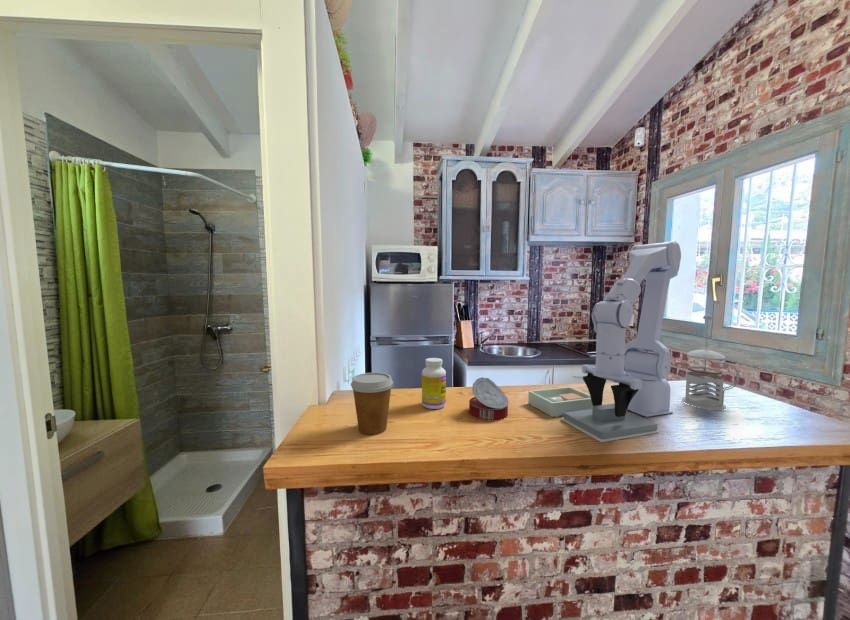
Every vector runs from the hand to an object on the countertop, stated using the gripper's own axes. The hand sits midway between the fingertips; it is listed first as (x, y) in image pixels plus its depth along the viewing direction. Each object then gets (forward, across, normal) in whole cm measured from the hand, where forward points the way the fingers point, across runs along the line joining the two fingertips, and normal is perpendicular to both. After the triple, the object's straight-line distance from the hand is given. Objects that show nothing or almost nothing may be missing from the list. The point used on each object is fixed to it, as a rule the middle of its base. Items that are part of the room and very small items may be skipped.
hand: (608, 410), depth 73 cm
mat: (+4, 0, 0) cm, 4 cm away
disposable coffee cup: (+4, -14, -53) cm, 55 cm away
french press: (+4, -3, +38) cm, 38 cm away
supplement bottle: (+4, -24, -35) cm, 43 cm away
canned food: (+4, -15, -23) cm, 28 cm away
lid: (+3, 0, 0) cm, 3 cm away
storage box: (+4, -13, -2) cm, 14 cm away
